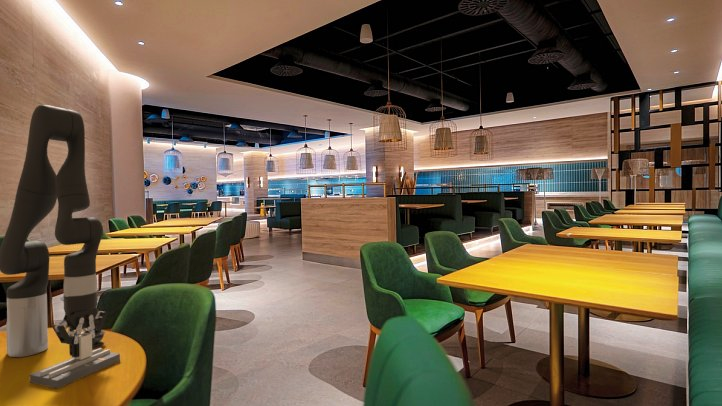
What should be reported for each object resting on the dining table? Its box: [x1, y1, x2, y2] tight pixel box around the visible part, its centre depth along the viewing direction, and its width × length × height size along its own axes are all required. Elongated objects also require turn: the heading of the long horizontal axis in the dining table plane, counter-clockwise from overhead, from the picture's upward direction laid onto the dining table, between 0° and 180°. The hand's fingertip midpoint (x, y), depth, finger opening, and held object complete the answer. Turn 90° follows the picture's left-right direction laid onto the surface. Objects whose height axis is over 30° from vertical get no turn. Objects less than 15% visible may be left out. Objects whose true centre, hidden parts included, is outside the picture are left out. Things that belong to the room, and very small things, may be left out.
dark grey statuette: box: [93, 319, 106, 349], centre depth 124 cm, size 6×6×12 cm
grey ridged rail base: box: [29, 347, 121, 390], centre depth 107 cm, size 10×17×3 cm, turn 161°
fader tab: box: [71, 331, 92, 362], centre depth 108 cm, size 4×3×7 cm
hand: (82, 353), depth 108 cm, fingers closed on fader tab, 3 cm apart
